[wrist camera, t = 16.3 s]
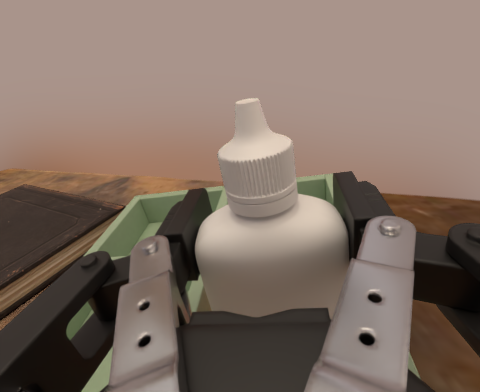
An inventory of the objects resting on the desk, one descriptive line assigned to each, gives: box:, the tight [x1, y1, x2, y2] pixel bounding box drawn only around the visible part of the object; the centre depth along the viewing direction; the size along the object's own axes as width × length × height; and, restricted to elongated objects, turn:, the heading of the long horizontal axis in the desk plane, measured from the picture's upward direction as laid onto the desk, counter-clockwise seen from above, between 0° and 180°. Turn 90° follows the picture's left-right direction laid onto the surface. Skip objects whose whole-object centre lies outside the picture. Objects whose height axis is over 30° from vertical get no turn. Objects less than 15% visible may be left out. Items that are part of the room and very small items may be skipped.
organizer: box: [66, 174, 421, 392], centre depth 18 cm, size 18×18×3 cm
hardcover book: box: [0, 184, 126, 319], centre depth 29 cm, size 16×23×2 cm
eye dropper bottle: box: [195, 98, 350, 319], centre depth 11 cm, size 4×6×12 cm
